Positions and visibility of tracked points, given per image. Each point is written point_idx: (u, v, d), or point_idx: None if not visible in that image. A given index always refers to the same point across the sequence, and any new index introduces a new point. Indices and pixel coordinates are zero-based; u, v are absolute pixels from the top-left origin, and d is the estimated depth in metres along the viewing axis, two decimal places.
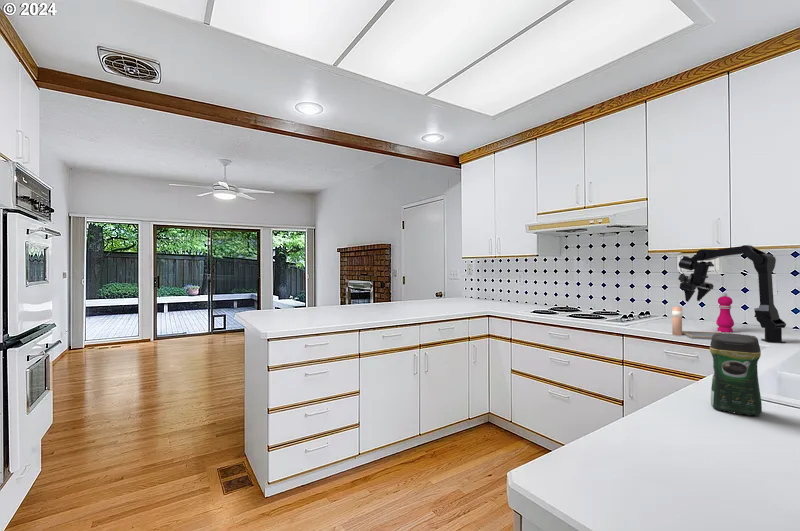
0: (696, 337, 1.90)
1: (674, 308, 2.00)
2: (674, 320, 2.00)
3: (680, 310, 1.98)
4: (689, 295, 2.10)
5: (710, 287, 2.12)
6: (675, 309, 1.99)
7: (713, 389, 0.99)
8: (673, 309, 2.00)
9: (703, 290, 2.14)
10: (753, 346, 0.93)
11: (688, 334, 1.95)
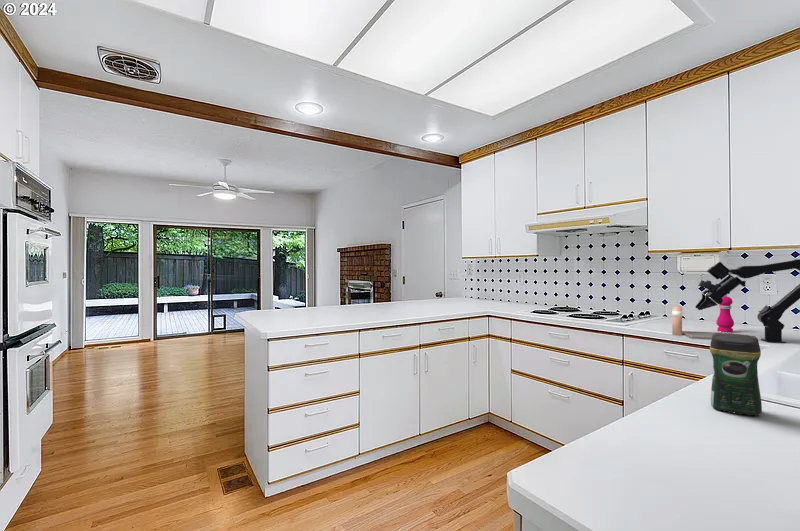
0: (696, 337, 1.90)
1: (674, 308, 2.00)
2: (674, 320, 2.00)
3: (680, 310, 1.98)
4: (707, 306, 1.89)
5: None
6: (675, 309, 1.99)
7: (713, 389, 0.99)
8: (673, 309, 2.00)
9: None
10: (753, 346, 0.93)
11: (688, 334, 1.95)
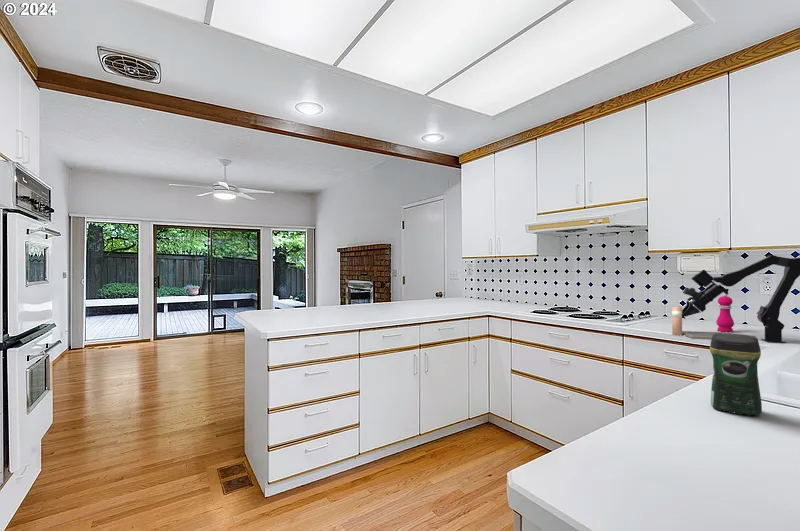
0: (696, 337, 1.90)
1: (674, 308, 2.00)
2: (674, 320, 2.00)
3: (680, 310, 1.98)
4: (691, 313, 1.93)
5: None
6: (675, 309, 1.99)
7: (713, 389, 0.99)
8: (673, 309, 2.00)
9: None
10: (753, 346, 0.93)
11: (688, 334, 1.95)
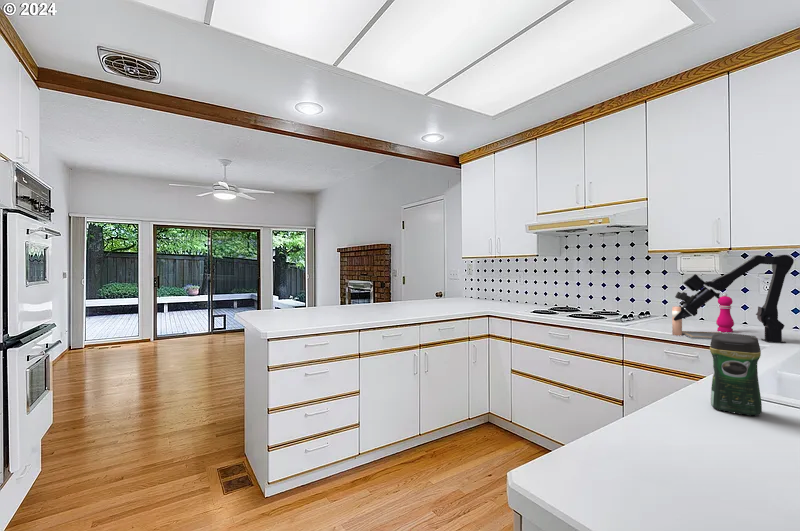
0: (696, 337, 1.90)
1: (674, 308, 2.00)
2: (674, 320, 2.00)
3: (680, 310, 1.98)
4: (683, 317, 1.96)
5: None
6: (675, 309, 1.99)
7: (713, 389, 0.99)
8: (673, 309, 2.00)
9: None
10: (753, 346, 0.93)
11: (688, 334, 1.95)
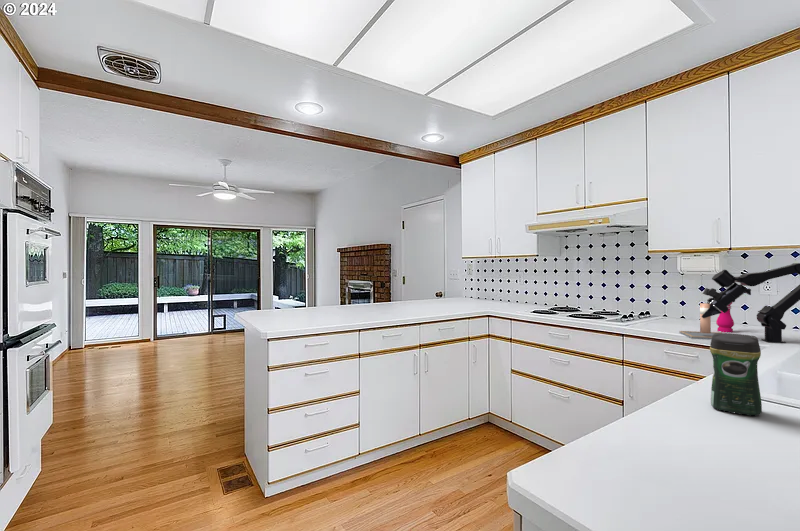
0: (696, 337, 1.90)
1: (702, 305, 1.92)
2: None
3: None
4: (712, 314, 1.88)
5: None
6: (703, 306, 1.91)
7: (713, 389, 0.99)
8: (701, 306, 1.92)
9: None
10: (753, 346, 0.93)
11: (688, 334, 1.95)
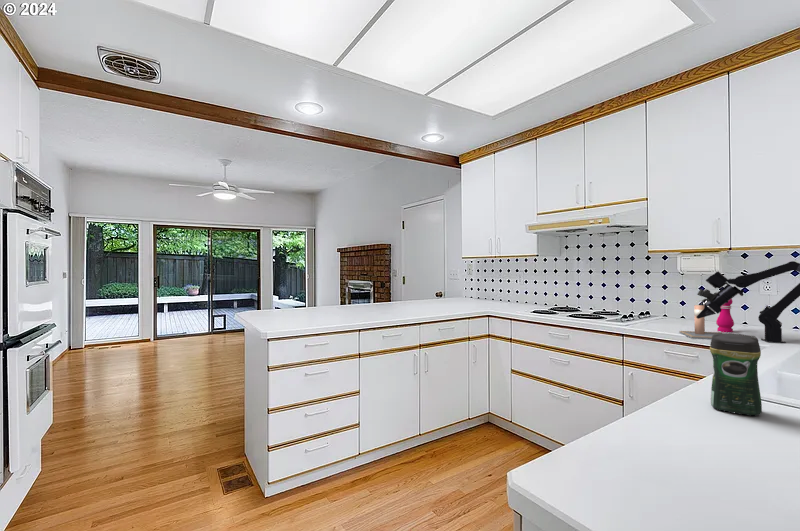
0: (696, 337, 1.90)
1: (696, 307, 1.98)
2: (696, 319, 1.98)
3: None
4: (706, 314, 1.93)
5: None
6: (697, 308, 1.98)
7: (713, 389, 0.99)
8: (695, 308, 1.99)
9: None
10: (753, 346, 0.93)
11: (688, 334, 1.95)
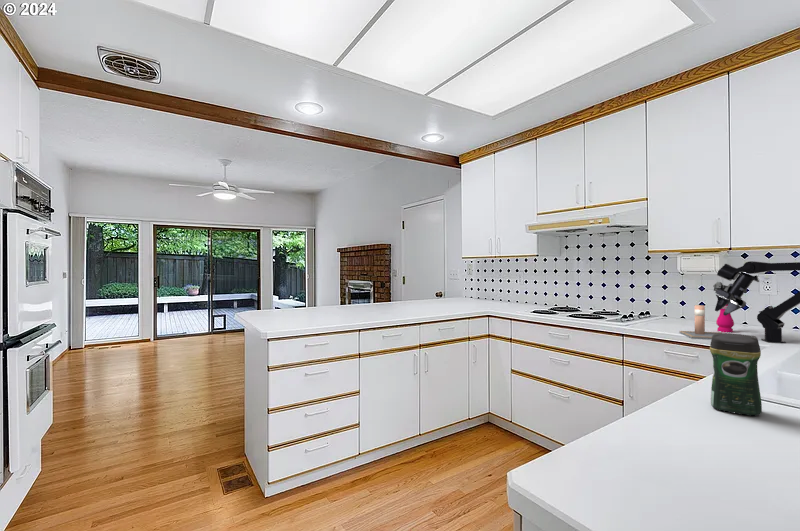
0: (696, 337, 1.90)
1: (697, 307, 1.98)
2: (697, 319, 1.98)
3: (703, 309, 1.97)
4: (722, 304, 1.90)
5: (743, 304, 1.94)
6: (697, 308, 1.98)
7: (713, 389, 0.99)
8: (696, 308, 1.99)
9: (734, 305, 1.95)
10: (753, 346, 0.93)
11: (688, 334, 1.95)
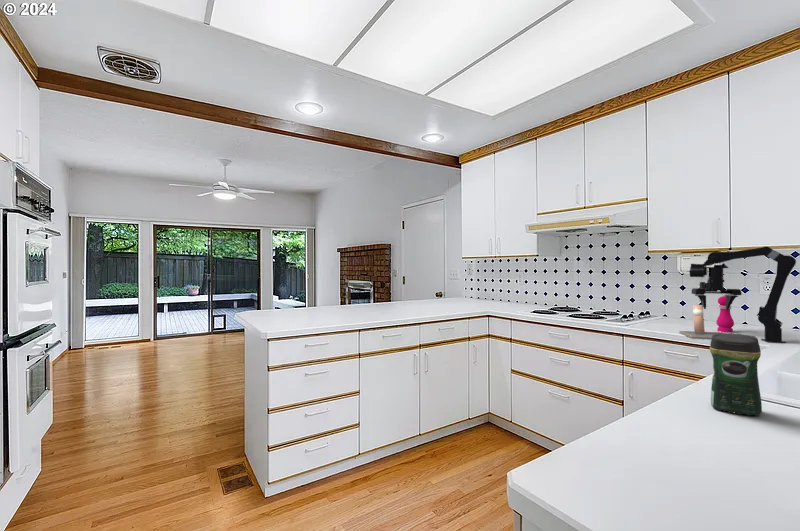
0: (696, 337, 1.90)
1: (695, 307, 1.98)
2: (696, 319, 1.98)
3: (701, 308, 1.97)
4: (702, 301, 1.98)
5: (734, 292, 1.92)
6: (696, 308, 1.98)
7: (713, 389, 0.99)
8: (694, 308, 1.99)
9: (729, 297, 1.95)
10: (753, 346, 0.93)
11: (688, 334, 1.95)
